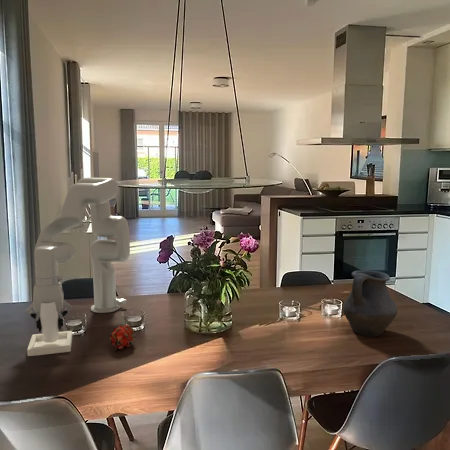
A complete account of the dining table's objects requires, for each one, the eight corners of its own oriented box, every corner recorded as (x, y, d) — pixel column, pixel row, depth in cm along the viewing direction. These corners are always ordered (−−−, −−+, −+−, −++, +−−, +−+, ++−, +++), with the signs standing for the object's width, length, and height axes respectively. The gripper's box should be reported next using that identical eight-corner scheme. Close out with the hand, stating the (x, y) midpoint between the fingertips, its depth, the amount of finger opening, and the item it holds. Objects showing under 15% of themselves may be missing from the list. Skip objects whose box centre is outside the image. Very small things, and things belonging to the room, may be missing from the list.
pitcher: (404, 331, 179) (408, 269, 176) (380, 348, 164) (384, 281, 160) (356, 319, 193) (359, 261, 190) (329, 333, 177) (332, 271, 174)
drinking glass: (64, 338, 167) (62, 298, 165) (52, 345, 161) (49, 304, 159) (49, 335, 169) (47, 296, 167) (36, 342, 163) (34, 302, 161)
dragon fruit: (130, 343, 171) (120, 362, 160) (112, 330, 171) (99, 348, 159) (142, 328, 169) (132, 345, 157) (123, 315, 168) (112, 331, 157)
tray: (72, 336, 174) (71, 330, 174) (70, 351, 161) (70, 345, 160) (32, 340, 170) (32, 334, 170) (27, 356, 157) (27, 349, 156)
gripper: (73, 276, 168) (75, 323, 170) (22, 279, 163) (25, 327, 166) (72, 281, 161) (75, 330, 163) (19, 285, 156) (22, 335, 159)
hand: (50, 328), depth 165 cm, fingers closed on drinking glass, 6 cm apart
